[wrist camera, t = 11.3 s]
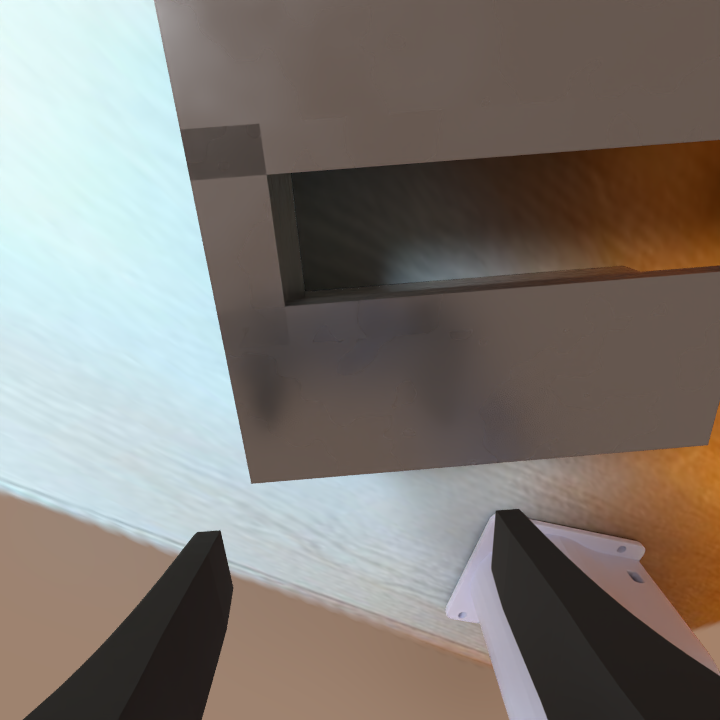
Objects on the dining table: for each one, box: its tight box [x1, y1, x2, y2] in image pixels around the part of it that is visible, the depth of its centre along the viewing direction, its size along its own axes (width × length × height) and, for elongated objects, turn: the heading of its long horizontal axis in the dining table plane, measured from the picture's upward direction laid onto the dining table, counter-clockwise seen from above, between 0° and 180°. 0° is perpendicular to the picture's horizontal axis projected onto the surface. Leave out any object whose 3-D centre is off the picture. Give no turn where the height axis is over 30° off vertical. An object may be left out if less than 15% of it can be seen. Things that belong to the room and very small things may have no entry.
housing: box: [154, 0, 720, 484], centre depth 16 cm, size 16×16×6 cm
